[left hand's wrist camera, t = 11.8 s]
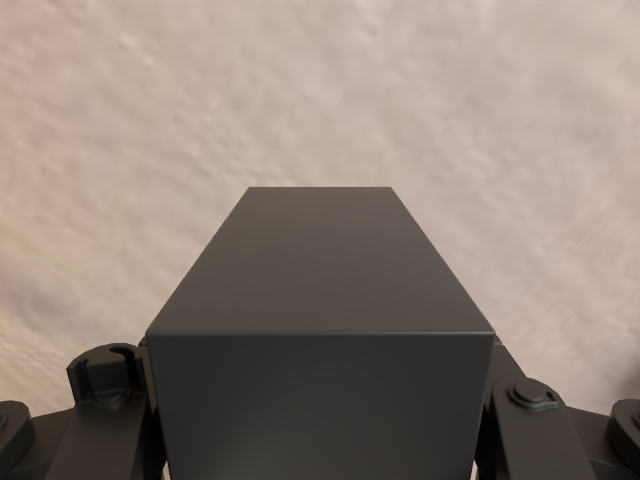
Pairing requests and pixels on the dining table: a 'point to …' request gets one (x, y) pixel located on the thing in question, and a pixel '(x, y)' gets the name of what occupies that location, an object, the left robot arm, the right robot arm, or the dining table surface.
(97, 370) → the left robot arm
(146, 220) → the dining table surface
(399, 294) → the bar
